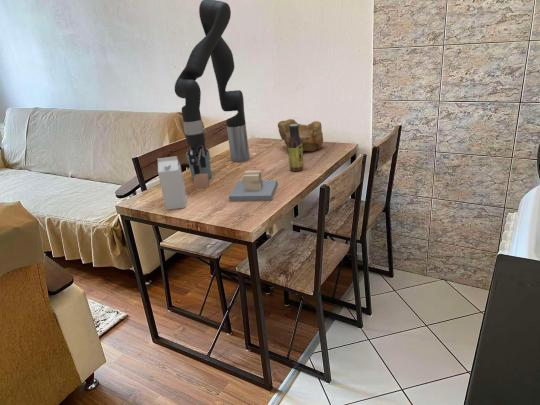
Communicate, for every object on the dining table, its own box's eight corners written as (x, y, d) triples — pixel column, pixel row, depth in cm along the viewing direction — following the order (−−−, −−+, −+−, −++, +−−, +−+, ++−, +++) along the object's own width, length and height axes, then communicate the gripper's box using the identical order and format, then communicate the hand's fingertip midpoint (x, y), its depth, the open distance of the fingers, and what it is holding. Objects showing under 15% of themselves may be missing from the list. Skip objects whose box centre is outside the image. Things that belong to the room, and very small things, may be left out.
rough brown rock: (271, 156, 202) (269, 128, 195) (282, 144, 216) (279, 117, 209) (316, 159, 194) (315, 129, 187) (324, 146, 208) (323, 118, 201)
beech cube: (247, 185, 160) (246, 170, 157) (262, 184, 159) (261, 170, 156) (244, 190, 154) (242, 176, 152) (259, 190, 153) (258, 175, 151)
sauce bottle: (302, 171, 174) (300, 126, 167) (288, 172, 176) (285, 127, 168) (304, 166, 180) (302, 123, 172) (290, 167, 182) (287, 123, 174)
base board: (239, 185, 166) (238, 181, 165) (277, 184, 163) (277, 180, 162) (229, 201, 151) (228, 196, 151) (271, 200, 148) (270, 195, 148)
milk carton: (168, 202, 156) (158, 155, 148) (187, 200, 156) (178, 153, 148) (166, 210, 149) (155, 161, 142) (185, 208, 149) (175, 159, 142)
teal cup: (217, 174, 181) (213, 149, 176) (204, 182, 173) (199, 156, 168) (199, 173, 186) (195, 148, 181) (185, 180, 178) (180, 154, 173)
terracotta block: (199, 185, 171) (197, 173, 169) (209, 184, 171) (207, 173, 169) (195, 189, 167) (193, 177, 165) (206, 188, 166) (204, 177, 164)
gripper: (197, 135, 152) (204, 175, 158) (208, 127, 165) (214, 164, 171) (178, 136, 153) (186, 176, 160) (191, 128, 166) (197, 165, 173)
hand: (200, 170), depth 165 cm, fingers open, 8 cm apart
